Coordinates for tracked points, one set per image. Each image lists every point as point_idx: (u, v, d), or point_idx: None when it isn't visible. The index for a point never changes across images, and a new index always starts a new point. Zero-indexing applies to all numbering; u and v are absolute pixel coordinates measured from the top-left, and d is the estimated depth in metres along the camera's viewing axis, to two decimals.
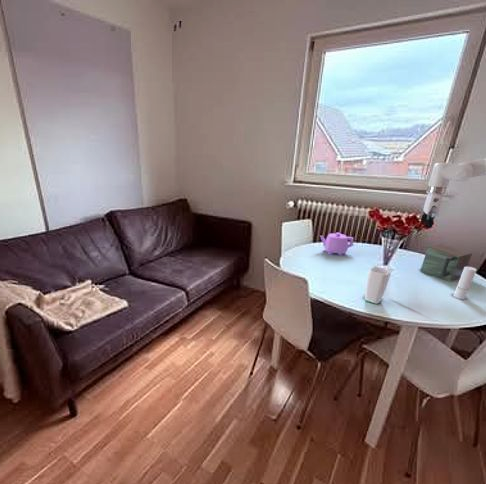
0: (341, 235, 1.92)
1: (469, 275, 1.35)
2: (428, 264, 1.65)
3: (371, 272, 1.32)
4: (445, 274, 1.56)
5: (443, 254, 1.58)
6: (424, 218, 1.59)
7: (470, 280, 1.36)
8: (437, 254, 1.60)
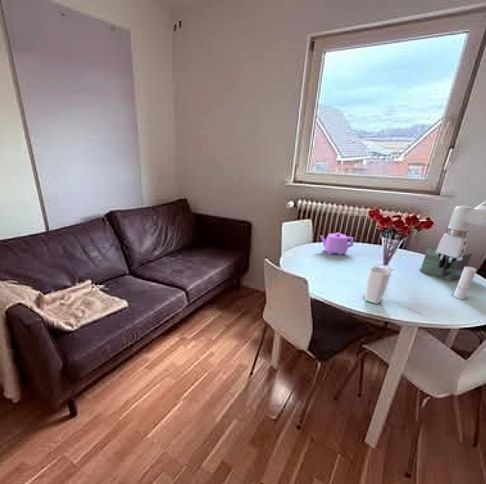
0: (341, 235, 1.92)
1: (469, 275, 1.35)
2: (428, 264, 1.65)
3: (371, 272, 1.32)
4: (445, 274, 1.56)
5: None
6: (442, 263, 1.54)
7: (470, 280, 1.36)
8: None
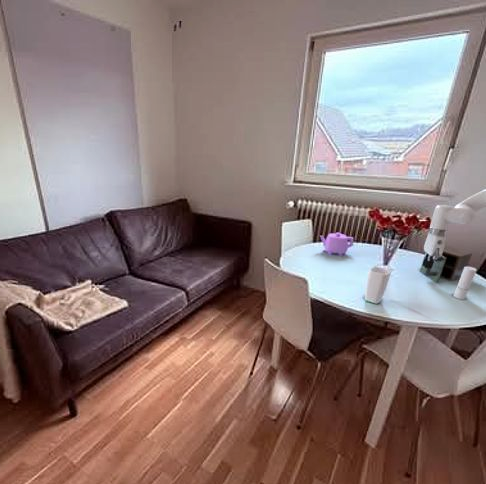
0: (341, 235, 1.92)
1: (469, 275, 1.35)
2: None
3: (371, 272, 1.32)
4: (430, 273, 1.56)
5: None
6: None
7: (470, 280, 1.36)
8: None
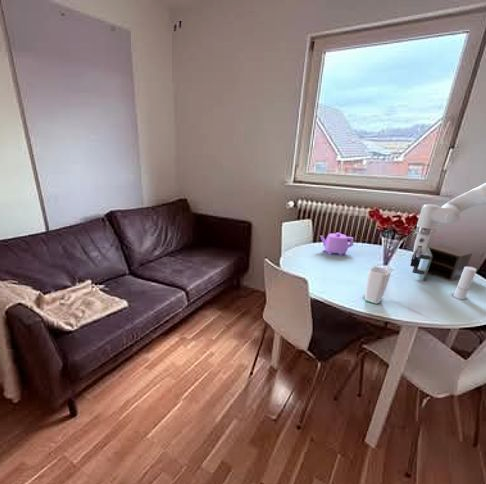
0: (341, 235, 1.92)
1: (469, 275, 1.35)
2: (422, 264, 1.65)
3: (371, 272, 1.32)
4: (417, 271, 1.58)
5: (428, 254, 1.58)
6: None
7: (470, 280, 1.36)
8: (427, 254, 1.60)
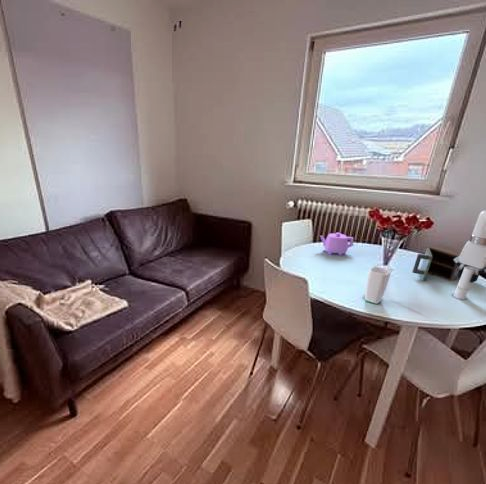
0: (341, 235, 1.92)
1: (469, 275, 1.35)
2: (422, 264, 1.65)
3: (371, 272, 1.32)
4: (417, 271, 1.58)
5: (428, 254, 1.58)
6: None
7: None
8: (427, 254, 1.60)
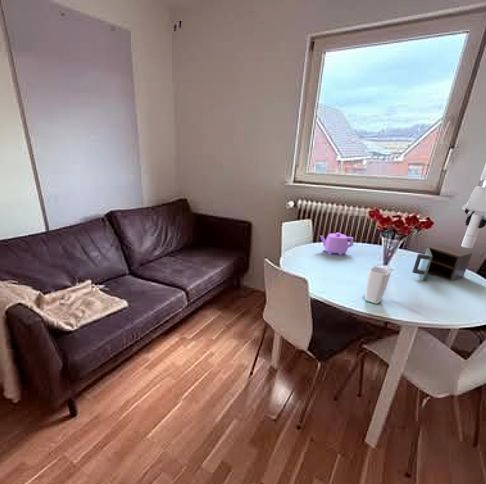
0: (341, 235, 1.92)
1: (478, 221, 1.36)
2: (422, 264, 1.65)
3: (371, 272, 1.32)
4: (417, 271, 1.58)
5: (428, 254, 1.58)
6: None
7: (478, 226, 1.37)
8: (427, 254, 1.60)
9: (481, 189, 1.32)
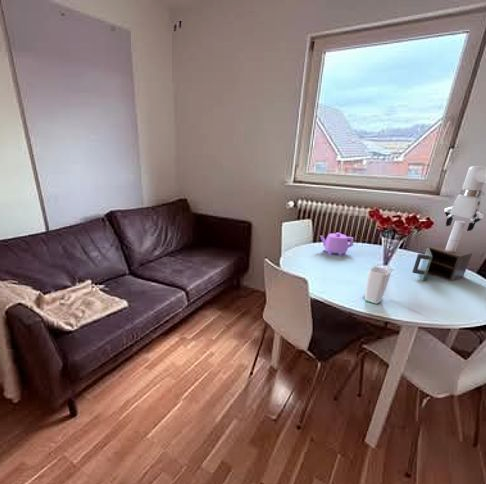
0: (341, 235, 1.92)
1: (459, 227, 1.53)
2: (422, 264, 1.65)
3: (371, 272, 1.32)
4: (417, 271, 1.58)
5: (428, 254, 1.58)
6: (449, 221, 1.58)
7: (460, 232, 1.54)
8: (427, 254, 1.60)
9: (463, 197, 1.49)
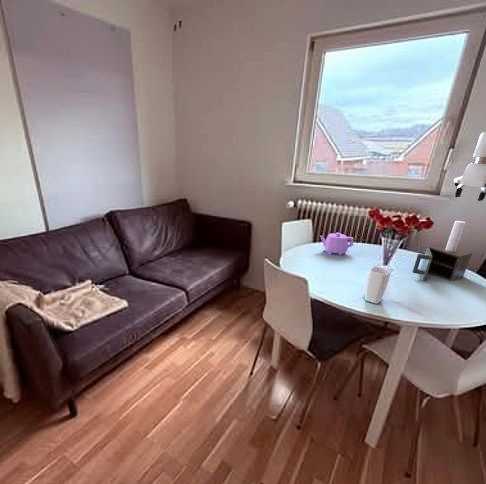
0: (341, 235, 1.92)
1: (459, 227, 1.53)
2: (422, 264, 1.65)
3: (371, 272, 1.32)
4: (417, 271, 1.58)
5: (428, 254, 1.58)
6: (459, 192, 1.52)
7: (460, 232, 1.54)
8: (427, 254, 1.60)
9: (474, 165, 1.43)
